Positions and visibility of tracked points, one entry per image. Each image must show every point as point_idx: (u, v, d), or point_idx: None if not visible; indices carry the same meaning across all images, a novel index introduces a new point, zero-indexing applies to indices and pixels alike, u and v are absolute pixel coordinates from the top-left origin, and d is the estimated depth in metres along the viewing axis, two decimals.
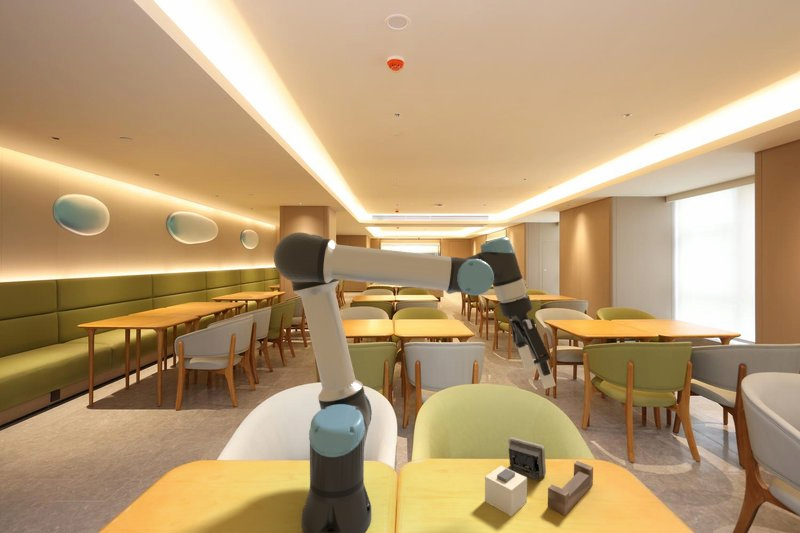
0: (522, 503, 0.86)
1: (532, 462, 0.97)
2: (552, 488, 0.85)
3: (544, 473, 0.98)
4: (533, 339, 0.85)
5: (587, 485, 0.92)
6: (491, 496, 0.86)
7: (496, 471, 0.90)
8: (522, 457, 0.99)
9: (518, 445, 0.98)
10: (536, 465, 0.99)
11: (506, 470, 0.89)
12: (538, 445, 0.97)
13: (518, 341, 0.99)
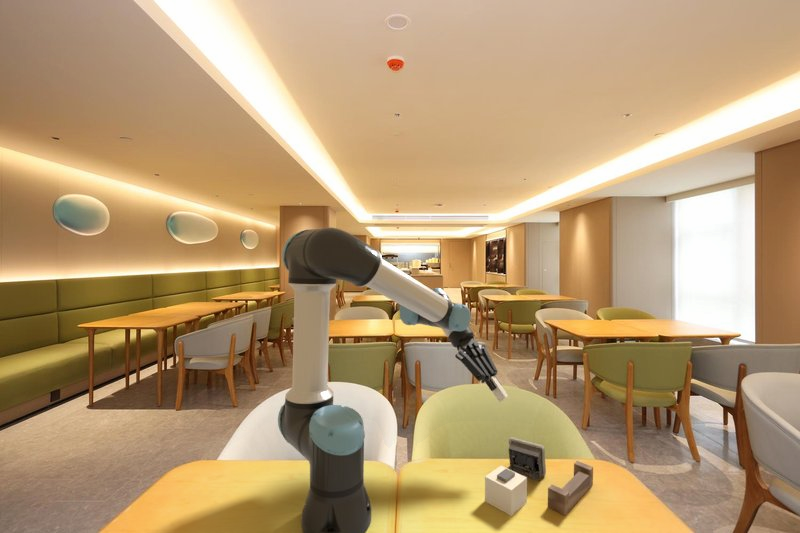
0: (522, 503, 0.86)
1: (532, 462, 0.97)
2: (552, 488, 0.85)
3: (544, 473, 0.98)
4: (467, 366, 1.06)
5: (587, 485, 0.92)
6: (491, 496, 0.86)
7: (496, 471, 0.90)
8: (522, 457, 0.99)
9: (518, 445, 0.98)
10: (536, 465, 0.99)
11: (506, 470, 0.89)
12: (538, 445, 0.97)
13: None
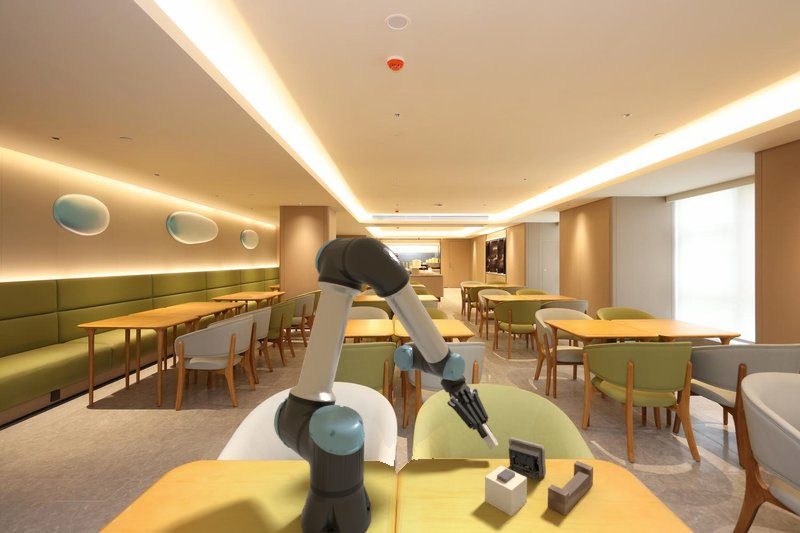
0: (522, 503, 0.86)
1: (532, 462, 0.97)
2: (552, 488, 0.85)
3: (544, 473, 0.98)
4: (459, 413, 1.09)
5: (587, 485, 0.92)
6: (491, 496, 0.86)
7: (496, 471, 0.90)
8: (522, 457, 0.99)
9: (518, 445, 0.98)
10: (536, 465, 0.99)
11: (506, 470, 0.89)
12: (538, 445, 0.97)
13: None
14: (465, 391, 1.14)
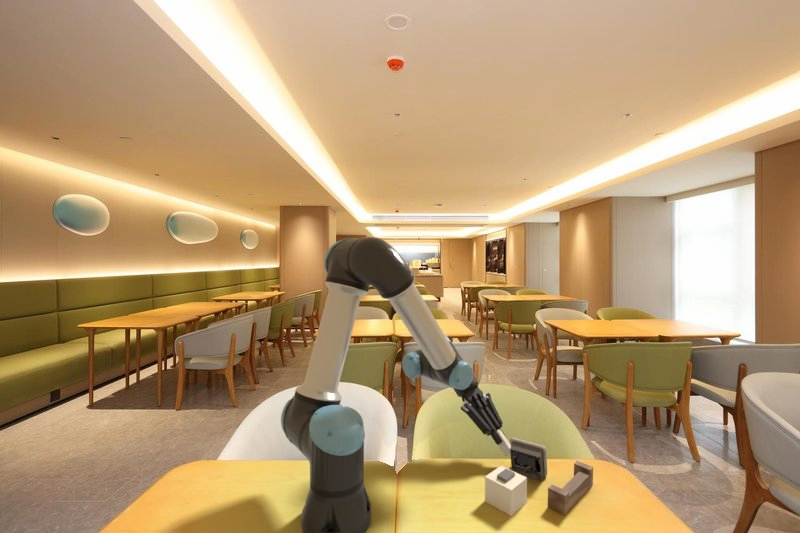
0: (522, 503, 0.86)
1: (533, 462, 0.97)
2: (552, 488, 0.85)
3: (546, 473, 0.98)
4: (473, 419, 1.05)
5: (587, 485, 0.92)
6: (491, 496, 0.86)
7: (496, 471, 0.90)
8: (523, 457, 0.98)
9: (519, 445, 0.98)
10: (537, 465, 0.98)
11: (506, 470, 0.89)
12: (540, 445, 0.96)
13: None
14: (478, 395, 1.11)
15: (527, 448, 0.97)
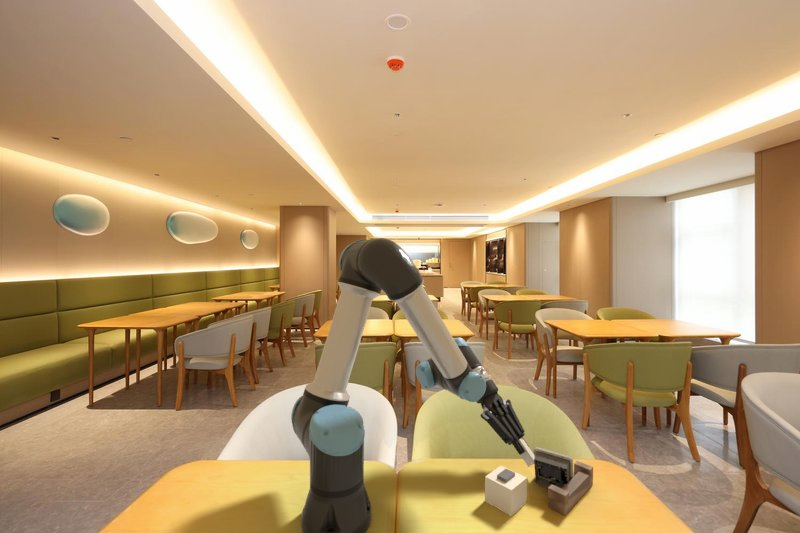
0: (522, 503, 0.86)
1: (559, 474, 0.91)
2: (552, 488, 0.85)
3: None
4: (494, 427, 1.00)
5: (587, 485, 0.92)
6: (491, 496, 0.86)
7: (496, 471, 0.90)
8: (548, 468, 0.93)
9: (544, 456, 0.93)
10: (563, 477, 0.93)
11: (506, 470, 0.89)
12: (566, 456, 0.91)
13: None
14: (498, 402, 1.05)
15: (552, 459, 0.92)
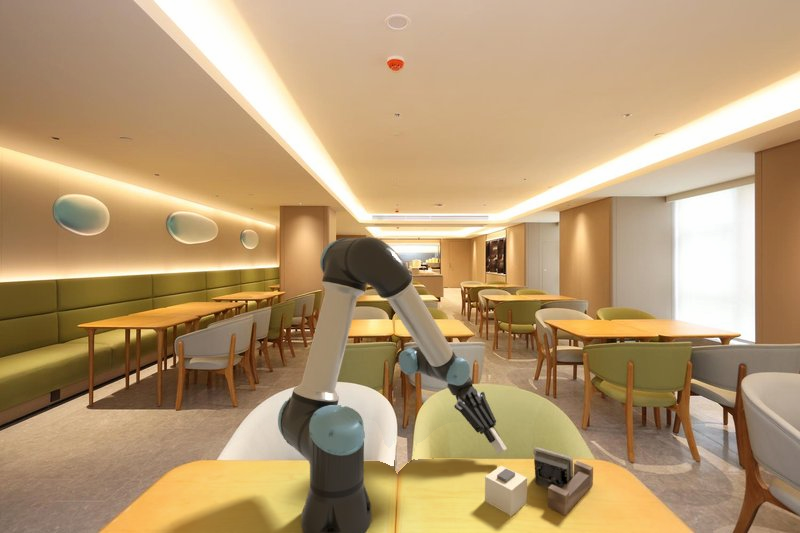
0: (522, 503, 0.86)
1: (559, 474, 0.91)
2: (552, 488, 0.85)
3: None
4: (466, 417, 1.07)
5: (587, 485, 0.92)
6: (491, 496, 0.86)
7: (496, 471, 0.90)
8: (548, 469, 0.93)
9: (544, 456, 0.93)
10: (563, 477, 0.93)
11: (506, 470, 0.89)
12: (566, 456, 0.91)
13: None
14: (472, 394, 1.12)
15: (552, 459, 0.92)
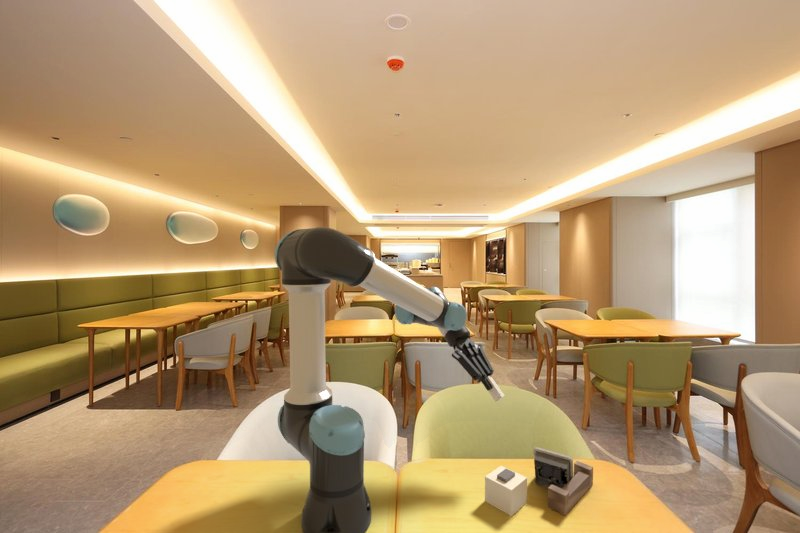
0: (522, 503, 0.86)
1: (559, 474, 0.91)
2: (552, 488, 0.85)
3: None
4: (464, 365, 1.05)
5: (587, 485, 0.92)
6: (491, 496, 0.86)
7: (496, 471, 0.90)
8: (548, 469, 0.93)
9: (544, 456, 0.93)
10: (563, 477, 0.93)
11: (506, 470, 0.89)
12: (566, 456, 0.91)
13: None
14: (470, 345, 1.10)
15: (552, 459, 0.92)
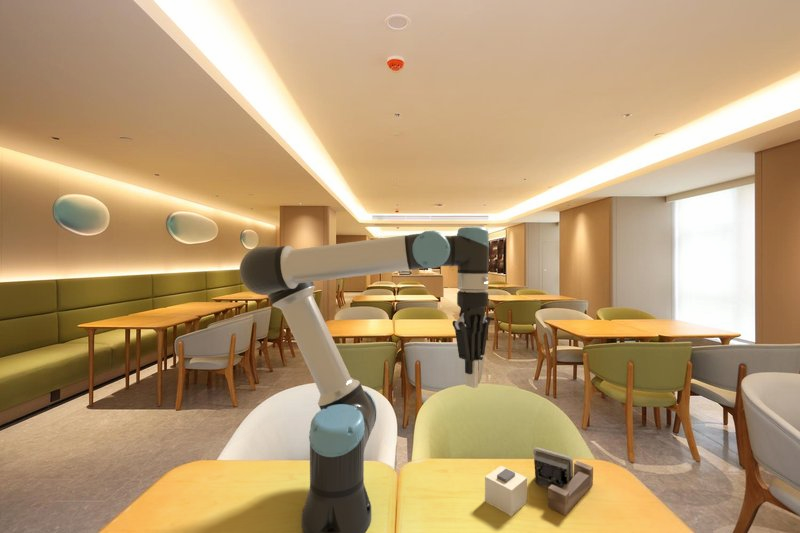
0: (522, 503, 0.86)
1: (559, 474, 0.91)
2: (552, 488, 0.85)
3: None
4: (458, 339, 0.88)
5: (587, 485, 0.92)
6: (491, 496, 0.86)
7: (496, 471, 0.90)
8: (548, 469, 0.93)
9: (544, 456, 0.93)
10: (563, 477, 0.93)
11: (506, 470, 0.89)
12: (566, 456, 0.91)
13: None
14: (479, 318, 0.90)
15: (552, 459, 0.92)
